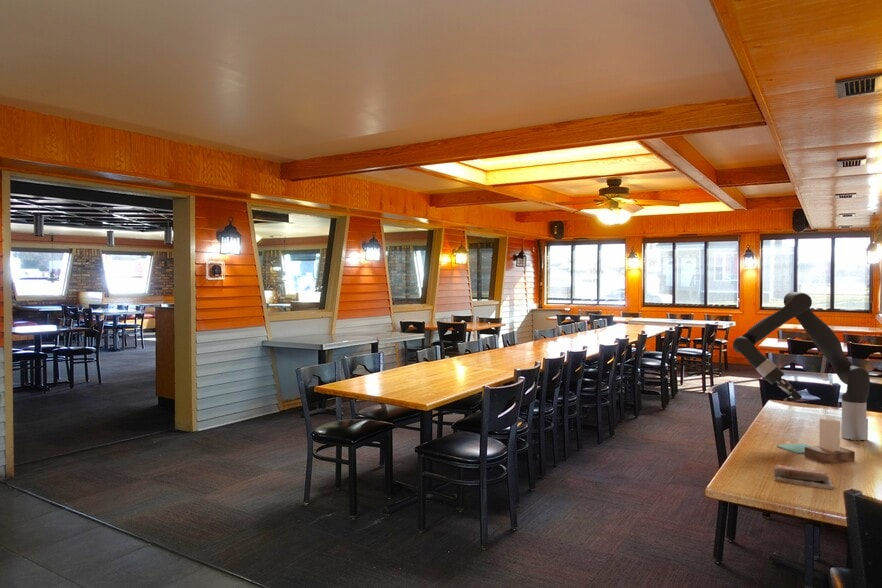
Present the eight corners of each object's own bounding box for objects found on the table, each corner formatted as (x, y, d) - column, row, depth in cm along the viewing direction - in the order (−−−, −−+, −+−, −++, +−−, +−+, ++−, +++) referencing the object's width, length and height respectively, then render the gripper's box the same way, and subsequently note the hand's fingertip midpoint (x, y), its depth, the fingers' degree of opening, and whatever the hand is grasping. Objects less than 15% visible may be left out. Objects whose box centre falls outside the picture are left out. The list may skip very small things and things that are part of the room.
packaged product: (773, 468, 208) (774, 461, 217) (773, 481, 208) (774, 474, 217) (833, 477, 199) (831, 469, 207) (833, 491, 199) (831, 482, 208)
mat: (803, 444, 254) (803, 443, 254) (825, 451, 243) (825, 450, 243) (776, 446, 251) (776, 445, 251) (797, 454, 240) (797, 452, 240)
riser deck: (832, 454, 240) (832, 444, 240) (854, 461, 230) (854, 451, 230) (804, 456, 237) (804, 446, 237) (825, 464, 227) (825, 453, 227)
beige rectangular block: (826, 446, 237) (826, 417, 237) (839, 451, 231) (839, 421, 231) (819, 447, 236) (819, 418, 236) (832, 451, 230) (832, 421, 230)
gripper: (777, 364, 257) (808, 392, 249) (775, 367, 269) (804, 394, 262) (763, 375, 258) (793, 404, 251) (762, 377, 271) (791, 404, 263)
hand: (799, 399), depth 256 cm, fingers open, 8 cm apart
